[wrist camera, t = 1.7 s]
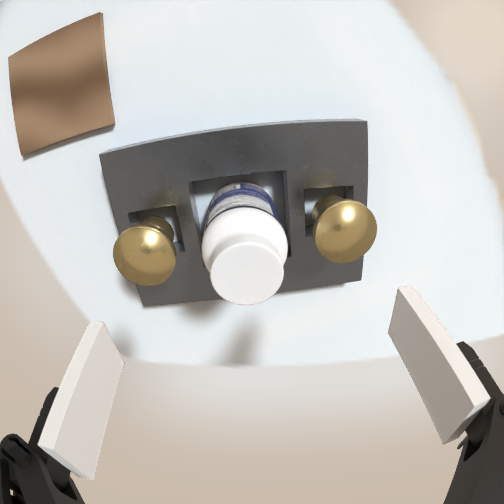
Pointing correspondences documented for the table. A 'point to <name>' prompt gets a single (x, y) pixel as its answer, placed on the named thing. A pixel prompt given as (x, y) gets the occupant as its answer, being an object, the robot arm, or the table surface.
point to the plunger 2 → (342, 228)
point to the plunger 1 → (146, 252)
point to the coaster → (61, 85)
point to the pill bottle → (244, 244)
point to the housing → (230, 164)
